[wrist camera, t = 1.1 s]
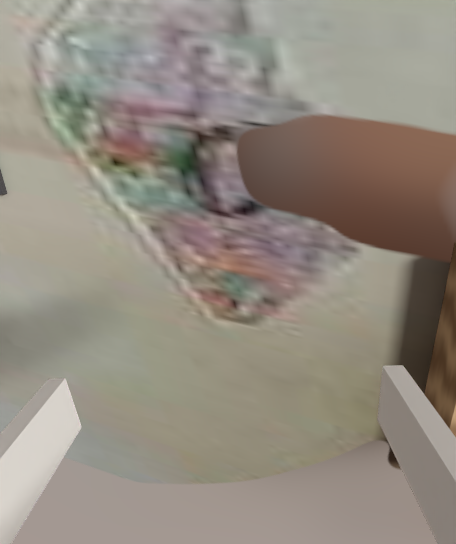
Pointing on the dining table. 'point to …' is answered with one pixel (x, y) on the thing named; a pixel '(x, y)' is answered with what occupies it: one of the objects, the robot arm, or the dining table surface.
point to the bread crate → (445, 356)
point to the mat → (2, 185)
